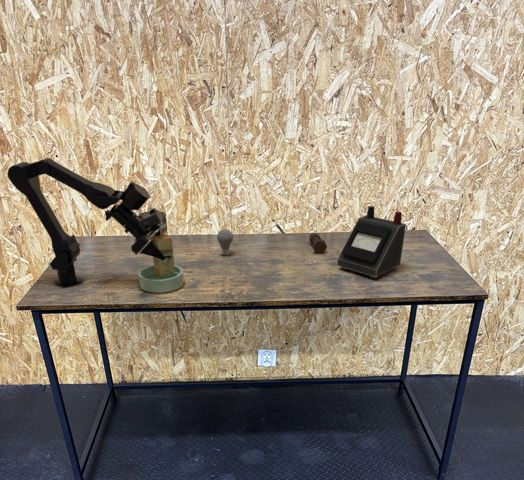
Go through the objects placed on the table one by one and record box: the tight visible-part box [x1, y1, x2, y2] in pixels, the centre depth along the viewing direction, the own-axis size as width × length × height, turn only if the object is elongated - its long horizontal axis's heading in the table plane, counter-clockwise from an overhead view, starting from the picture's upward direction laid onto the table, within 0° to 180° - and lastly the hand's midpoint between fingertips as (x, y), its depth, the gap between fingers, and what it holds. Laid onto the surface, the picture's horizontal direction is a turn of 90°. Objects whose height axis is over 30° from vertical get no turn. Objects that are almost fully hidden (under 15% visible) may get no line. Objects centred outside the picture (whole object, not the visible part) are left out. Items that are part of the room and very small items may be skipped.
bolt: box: [308, 232, 328, 255], centre depth 197 cm, size 6×5×15 cm
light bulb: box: [216, 228, 234, 256], centre depth 188 cm, size 6×6×10 cm
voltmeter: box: [336, 205, 407, 280], centre depth 173 cm, size 16×16×20 cm
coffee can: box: [139, 210, 169, 236], centre depth 192 cm, size 10×10×14 cm
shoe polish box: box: [151, 235, 175, 277], centre depth 161 cm, size 5×5×12 cm
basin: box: [138, 264, 185, 294], centre depth 165 cm, size 14×14×4 cm
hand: (167, 255), depth 160 cm, fingers closed on shoe polish box, 7 cm apart
